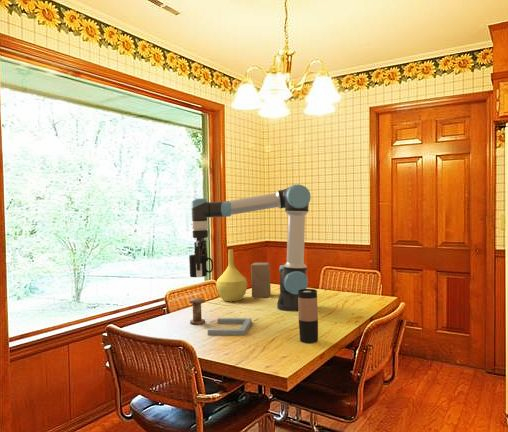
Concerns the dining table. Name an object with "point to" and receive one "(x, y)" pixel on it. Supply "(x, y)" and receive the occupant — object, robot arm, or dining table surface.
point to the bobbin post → (197, 311)
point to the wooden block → (260, 280)
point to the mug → (204, 267)
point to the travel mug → (308, 315)
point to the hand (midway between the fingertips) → (201, 275)
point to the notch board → (242, 331)
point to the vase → (231, 282)
